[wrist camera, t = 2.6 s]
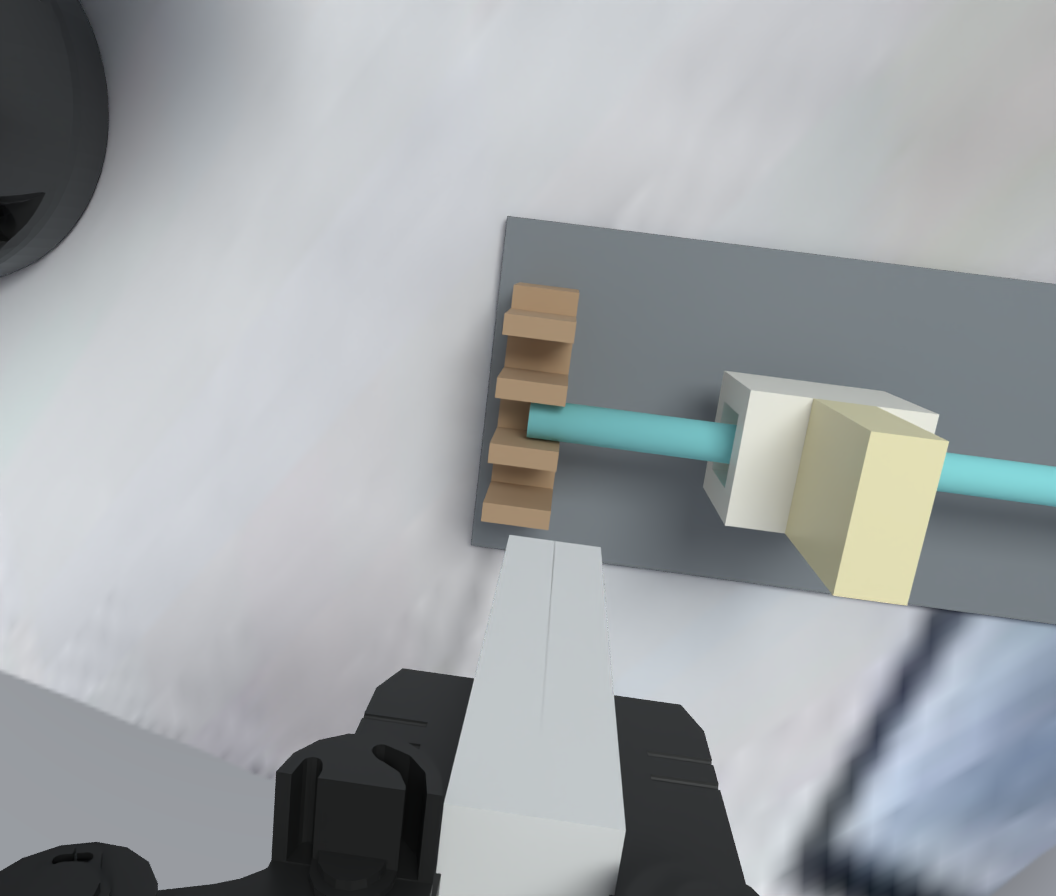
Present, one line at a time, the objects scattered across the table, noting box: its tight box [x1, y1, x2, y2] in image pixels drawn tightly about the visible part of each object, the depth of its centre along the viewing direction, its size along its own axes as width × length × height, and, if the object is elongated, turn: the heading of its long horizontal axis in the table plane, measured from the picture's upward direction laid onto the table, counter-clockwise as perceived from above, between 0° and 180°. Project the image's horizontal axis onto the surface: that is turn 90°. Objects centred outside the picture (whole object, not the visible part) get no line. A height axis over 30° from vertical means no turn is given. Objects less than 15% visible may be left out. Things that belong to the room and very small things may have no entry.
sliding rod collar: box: [703, 371, 949, 606], centre depth 25 cm, size 6×5×10 cm
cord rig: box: [471, 216, 1056, 624], centre depth 29 cm, size 36×14×7 cm, turn 83°
